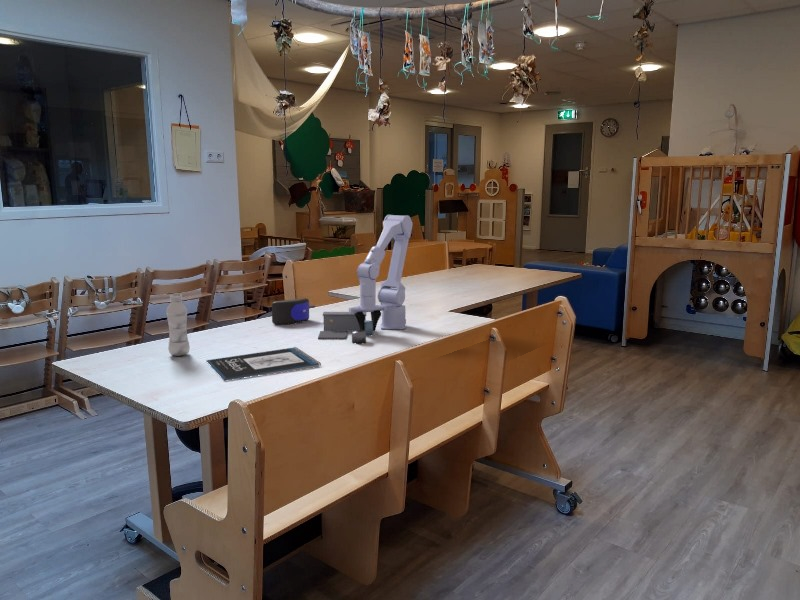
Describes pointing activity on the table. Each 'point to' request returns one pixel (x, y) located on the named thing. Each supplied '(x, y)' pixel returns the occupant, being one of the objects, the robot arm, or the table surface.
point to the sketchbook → (262, 363)
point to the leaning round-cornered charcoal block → (290, 311)
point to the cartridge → (368, 327)
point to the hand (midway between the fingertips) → (367, 330)
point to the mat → (332, 335)
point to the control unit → (340, 321)
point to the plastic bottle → (177, 326)
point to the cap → (359, 336)
